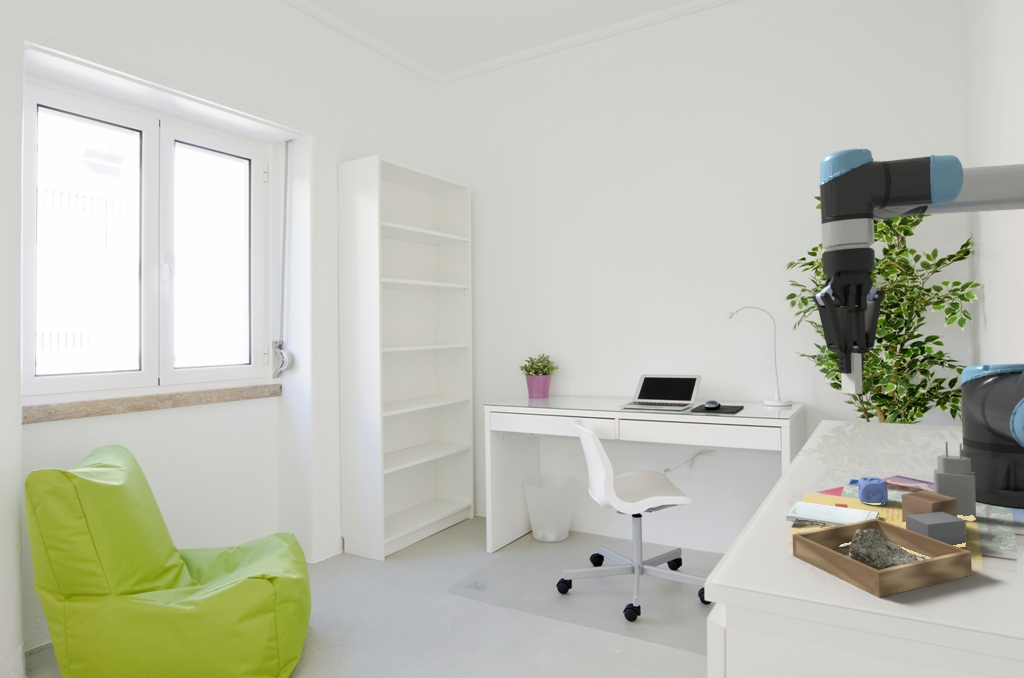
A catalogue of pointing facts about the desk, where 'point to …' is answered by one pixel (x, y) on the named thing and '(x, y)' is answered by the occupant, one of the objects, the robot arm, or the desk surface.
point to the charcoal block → (938, 527)
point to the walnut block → (927, 504)
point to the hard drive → (828, 514)
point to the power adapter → (956, 481)
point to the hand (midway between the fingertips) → (852, 392)
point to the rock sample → (877, 550)
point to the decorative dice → (872, 490)
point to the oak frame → (888, 581)
